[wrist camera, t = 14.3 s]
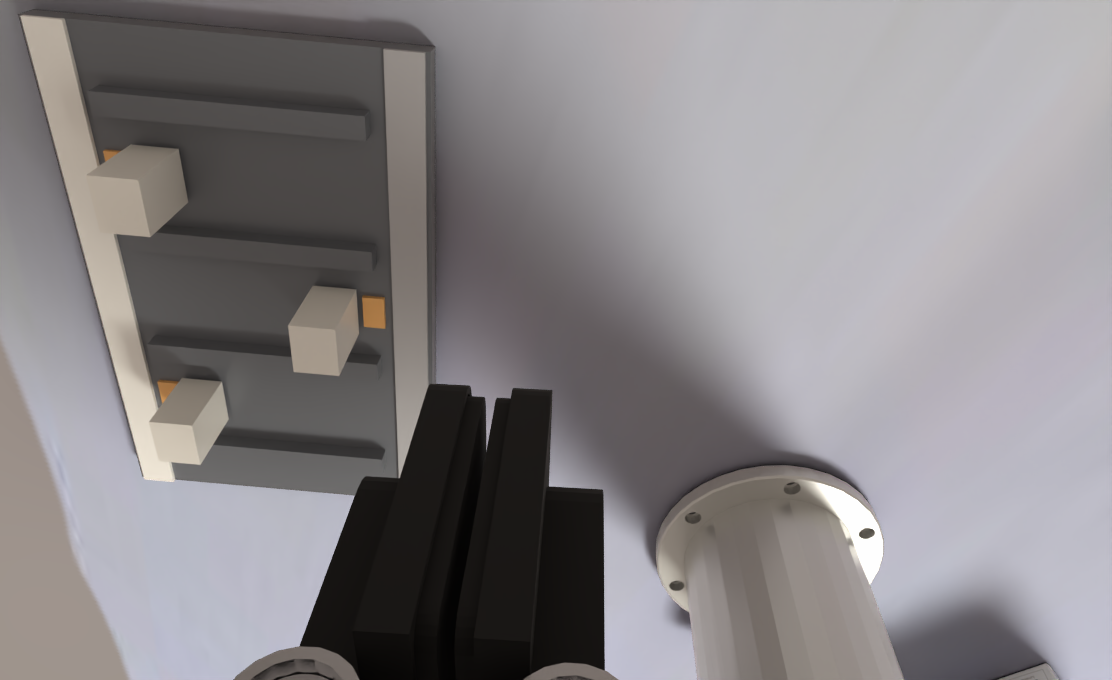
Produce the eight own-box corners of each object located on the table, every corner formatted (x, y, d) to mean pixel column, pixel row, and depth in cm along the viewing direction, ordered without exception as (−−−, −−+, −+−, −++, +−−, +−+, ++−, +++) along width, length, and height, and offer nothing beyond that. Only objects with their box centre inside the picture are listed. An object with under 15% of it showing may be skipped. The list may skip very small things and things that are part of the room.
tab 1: (188, 202, 35) (150, 237, 32) (142, 198, 35) (100, 232, 32) (178, 148, 33) (138, 180, 30) (130, 144, 33) (85, 175, 30)
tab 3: (359, 333, 38) (339, 376, 35) (317, 329, 38) (293, 371, 35) (356, 289, 37) (335, 329, 34) (312, 285, 37) (288, 325, 34)
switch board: (436, 489, 45) (430, 512, 43) (151, 464, 45) (135, 486, 43) (435, 46, 32) (426, 57, 30) (33, 9, 32) (5, 18, 30)
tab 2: (228, 419, 41) (200, 464, 38) (190, 415, 41) (158, 461, 38) (221, 381, 40) (192, 425, 37) (181, 377, 40) (148, 421, 37)
